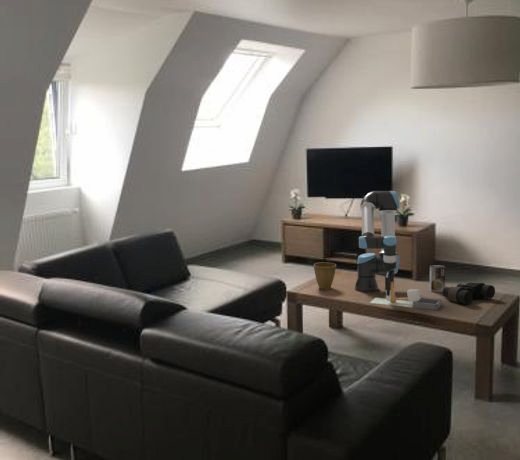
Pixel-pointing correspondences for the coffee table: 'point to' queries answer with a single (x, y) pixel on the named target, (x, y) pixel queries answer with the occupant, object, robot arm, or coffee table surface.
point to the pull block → (411, 293)
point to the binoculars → (468, 292)
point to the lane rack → (411, 303)
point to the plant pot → (324, 274)
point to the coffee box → (437, 278)
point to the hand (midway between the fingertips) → (389, 299)
